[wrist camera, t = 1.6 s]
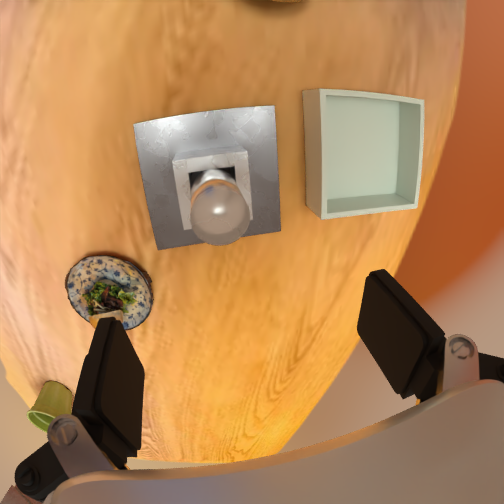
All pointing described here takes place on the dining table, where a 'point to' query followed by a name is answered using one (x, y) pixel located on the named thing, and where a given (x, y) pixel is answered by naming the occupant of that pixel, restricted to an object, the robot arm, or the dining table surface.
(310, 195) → the bin
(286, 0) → the cupcake
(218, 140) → the stud block
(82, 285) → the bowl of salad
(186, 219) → the grey piece
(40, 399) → the plant pot
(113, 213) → the dining table surface
